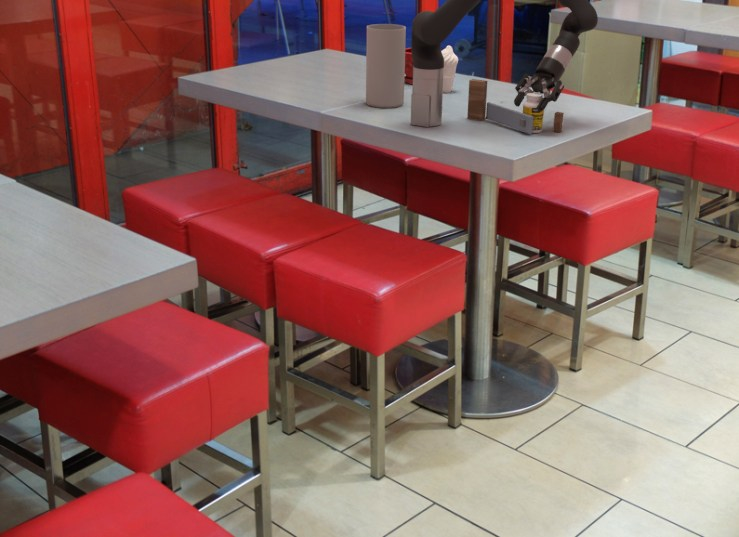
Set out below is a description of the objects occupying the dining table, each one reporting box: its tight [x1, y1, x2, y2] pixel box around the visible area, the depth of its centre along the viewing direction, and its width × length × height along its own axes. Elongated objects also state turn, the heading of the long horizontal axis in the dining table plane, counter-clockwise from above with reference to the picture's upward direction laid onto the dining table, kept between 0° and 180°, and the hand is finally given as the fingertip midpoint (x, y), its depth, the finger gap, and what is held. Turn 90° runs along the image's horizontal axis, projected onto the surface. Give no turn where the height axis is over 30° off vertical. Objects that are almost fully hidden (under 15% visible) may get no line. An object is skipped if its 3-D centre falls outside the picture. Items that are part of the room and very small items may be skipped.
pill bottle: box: [522, 92, 545, 134], centre depth 295 cm, size 6×6×11 cm
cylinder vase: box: [365, 23, 407, 109], centre depth 323 cm, size 12×12×25 cm
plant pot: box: [404, 47, 413, 85], centre depth 358 cm, size 13×13×12 cm
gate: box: [485, 101, 533, 135], centre depth 299 cm, size 2×21×5 cm, turn 31°
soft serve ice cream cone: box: [441, 45, 459, 94], centre depth 344 cm, size 8×8×16 cm
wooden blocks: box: [466, 78, 564, 133], centre depth 302 cm, size 2×30×12 cm, turn 58°
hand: (527, 107), depth 293 cm, fingers open, 8 cm apart
